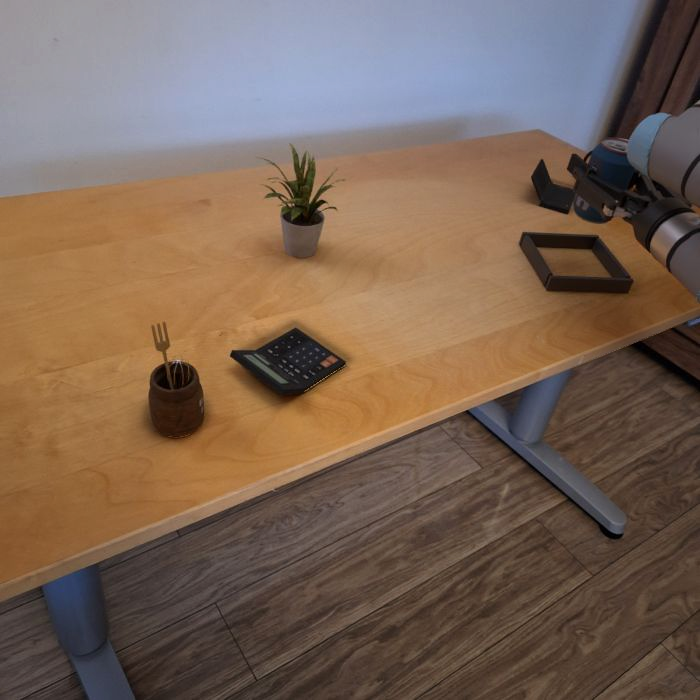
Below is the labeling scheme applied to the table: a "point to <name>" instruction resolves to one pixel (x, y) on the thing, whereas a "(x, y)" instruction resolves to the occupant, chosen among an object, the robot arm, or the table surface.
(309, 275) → the table surface
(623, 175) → the soda can
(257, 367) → the calculator
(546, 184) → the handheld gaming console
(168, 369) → the utensil holder
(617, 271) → the dark brown square frame
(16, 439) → the table surface
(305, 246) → the house plant
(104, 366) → the table surface
